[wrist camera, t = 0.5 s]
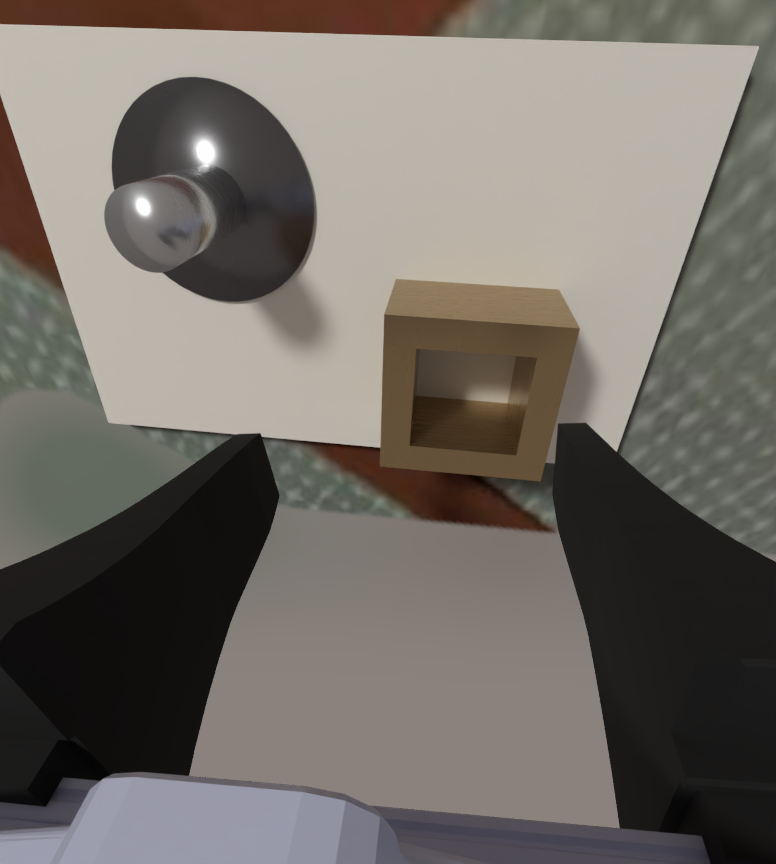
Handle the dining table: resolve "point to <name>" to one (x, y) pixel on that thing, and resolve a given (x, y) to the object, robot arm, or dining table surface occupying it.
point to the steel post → (209, 191)
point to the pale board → (383, 211)
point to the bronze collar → (467, 419)
